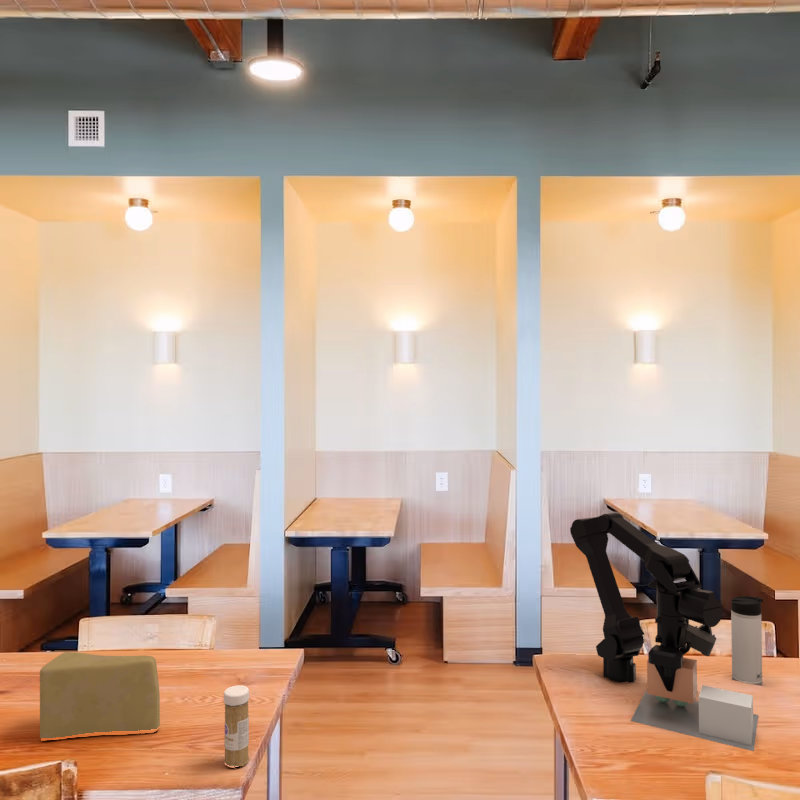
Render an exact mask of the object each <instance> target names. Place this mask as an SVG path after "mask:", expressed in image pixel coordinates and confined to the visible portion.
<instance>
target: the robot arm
mask: <svg viewBox="0 0 800 800" xmlns="http://www.w3.org/2000/svg"><path fill="white" fill-rule="evenodd" d="M569 531H570V535H571V537H572V540H573V542H574V545H575V546H576V547H577V549H578V550H579V551H580V552H581V553H582V554H583V555H585V557H586V560H587V561H586V562H587V563H588V567H589V570H590V573H591V576H592V579H593V582H594V586H595V588H596V589H595V590H596V591H597V594H598V597H599V601H600V604H601V607H602V611H603V613H604V621H603V627H602V632H603V637H604V638H603V639H602V640H601V641H600V642H599V643H598V644H597V645H596V646H595V648H596V652H597V656H598V657H600V658H602V659H603V660H602V669H603V671H602V672H603V675H602V677H603V678H606V679H608V680H609V681H612V682H615V683H629V684H630V683H632V684H633V683H635V681H636V680H637V664H636V663H635V662H634V657H639V655H640V651H641V650H642V648H643V646H644V644H645V638H644V635H645V632H644V630H643V629H642V626H641V622H640V619H639V617H638V616H632V615H631V614H630V613H629V612H628V611H627V609H626V607H625V603H624V600H623V598H622V595H621V591H620V589H619V586H618V583H617V580H616V578H615V574H614V570H613V568H612V565H611V562H610V558H609V556H608V552H607V550H608V549H607V547H608V542H609V535H608V534H610V535H611V536H612V537H614V538H615V539H616V540H617V541H618V542H620V543H621V544H623V545H624V546H626V548H628V549H629V550H630V551H631V552H632V553H634V554H635V555H637V556H638V557H639V558H640V559H641V561H643V564H644V566H645V569H646V571H648V572H649V573H650V575H651V576H652V577H654V579H653V580H652V581H650V582H649V583H648V587H649V588H651V589H654V590H656V616H655V619H654V623H655V624H656V630H657V631H656V636H655V637H654V638H655V639H654V640H655V643H657V644H655V645H654V646H652V647H651V648H650V650H649V652H648V653H647V654H648V655H647V656H648V657H647V658H648V659H647V660H648V662H649V663H650V664H654V665H655V667H656V669H657V671H658V673H659V675H660V677H661V679H662V681H663V684H664V686H665V688H666V690H667V691H670V692H672V691H673V686H674V681H675V675H676V670H677V669H681V667H682V666H683V664H684V662H683V657H684V655H686V654H688V652H689V651H690V649H694V650H695V651H697V652H699V653H701V655H703V656H705V657H710V655H711V653H712V651H713V648H714V646H715V643H716V642H717V637H716V635H715V634H713V632H712V628H714V627H716V626H717V625H718V624H719V623H720V622H721V619H722V617H723V607H722V604H721V602H720V601H719V599H717V598H716V592H714V591H712V590H705V589H701V588H702V583H701V582H700V580H699V578H698V577H697V574H696V573H695V571H694V570H693V568H692V566H691V564H690V560H689V558H688V556H686V555H685V554H684V553H683V552H680V551H678V550H677V549H674V548H672V547H669V546H665V545H662V544H659V543H657V542H656V541H654V540H653V539H652V538H651V537H649V536H648V535H646V534H645V533H644V532H643V531H641V530H640V529H638V528H637V527H636V526H635V525H633V524H632V523H630V522H629V521H628V520H626V519H625V518H624V517H623V515H622V514H621V513H619V512H609V513H603V514H601V515H599V516H595V517H585V518H578V519H575V520H574V521H573V522H571V527H570V530H569ZM681 580H682V581H681ZM683 580H685V581H683ZM676 581H679V582H676ZM690 621H691V622H692V621H693V622H695V623H698V624H700V625H699V626H697V625H692V624H690Z"/></svg>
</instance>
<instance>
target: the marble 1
mask: <svg viewBox="0 0 800 800" xmlns="http://www.w3.org/2000/svg"><path fill="white" fill-rule="evenodd" d="M656 698H657V699H658V700H659V701H660V702H662V703H666V702H668V701H669V700H670V699H669V698H664V697H660V696H656Z"/></svg>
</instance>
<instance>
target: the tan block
mask: <svg viewBox="0 0 800 800" xmlns="http://www.w3.org/2000/svg"><path fill="white" fill-rule="evenodd" d="M683 662H684V664H683V666H682V667H681V669H677V670H676V675H675V681H674V686H673V691H672V692H670V691H667V690H666V688H665V686H664V684H663V681H662V679H661V677H660V675H659V673H658V671H657V669H656V667H655V665H654V664H650V663H649V662H648V659H647V660H646V673H647V674H646V686H647V687H646V688H647V689H646V690H647V694H651V695H655V696H660V697H664V698H669V699H673V700H678V701H682V702H687V703H691V704H693V703H694V701H696V700H695V699H696V696H697V695H698V668H697V667H698V661H697V659H695V658H694V659H693V658H688V657H684V656H683Z"/></svg>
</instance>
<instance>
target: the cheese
mask: <svg viewBox="0 0 800 800" xmlns="http://www.w3.org/2000/svg"><path fill="white" fill-rule="evenodd" d="M157 665H158V663H157V660H156V658H155V657H154V656H152V655H101V654H100V655H99V654H91V653H83V652H77V651H64V652H63V653H61V654H59V655H57V656H56V657H55V658H53V659H52V660H50V661H49V662H48V663H46V664H45V665H43V667H41V669H40V670H39V739H40V738H54V737H55V738H56V737H65V736H72V735H78V734H85V733H94V732H110V731H111V732H112V731H138V730H139V731H140V730H151V729H157V728H158V727H159V726H160V727H161V719H160V718H161V709H160V707H161V705H160V702H161V701H160V684H159V673H158V666H157Z"/></svg>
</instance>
